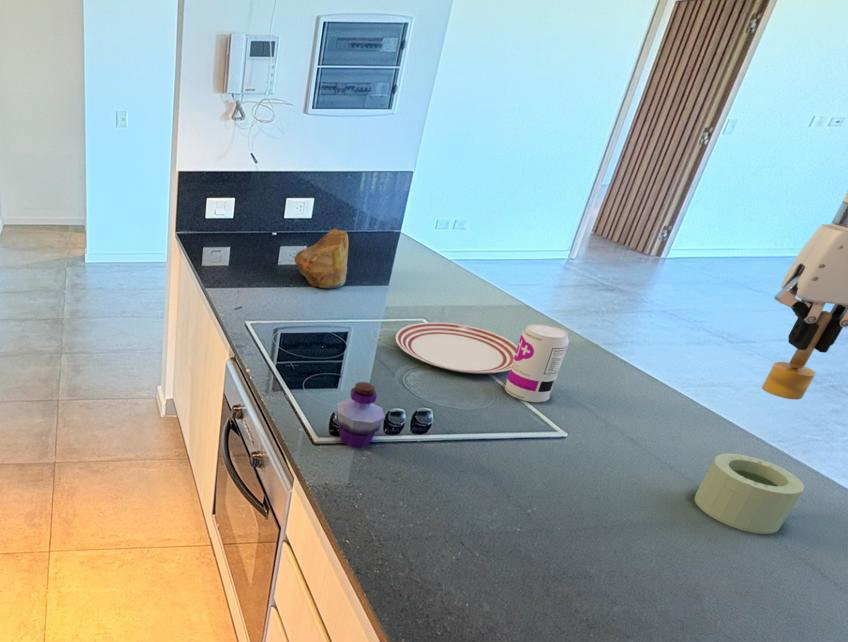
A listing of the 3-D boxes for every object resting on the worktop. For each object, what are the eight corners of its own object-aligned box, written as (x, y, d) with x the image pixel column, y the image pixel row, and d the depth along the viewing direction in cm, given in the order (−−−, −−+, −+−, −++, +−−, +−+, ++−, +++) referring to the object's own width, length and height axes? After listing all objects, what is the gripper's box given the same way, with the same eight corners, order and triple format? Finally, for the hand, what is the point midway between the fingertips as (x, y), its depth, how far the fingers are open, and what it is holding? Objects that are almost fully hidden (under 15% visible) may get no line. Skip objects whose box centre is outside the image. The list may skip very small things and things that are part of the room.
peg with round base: (791, 388, 93) (836, 308, 87) (809, 401, 89) (856, 319, 83) (755, 383, 94) (797, 304, 88) (770, 396, 91) (815, 314, 85)
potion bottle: (383, 438, 115) (396, 382, 110) (371, 460, 109) (384, 402, 104) (338, 424, 120) (348, 370, 114) (323, 445, 113) (333, 388, 108)
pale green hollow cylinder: (757, 501, 99) (780, 460, 96) (793, 542, 91) (820, 499, 87) (682, 488, 102) (702, 448, 99) (710, 527, 94) (733, 484, 90)
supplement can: (510, 402, 128) (531, 336, 121) (498, 384, 135) (518, 321, 128) (553, 407, 126) (578, 340, 119) (540, 388, 133) (562, 324, 126)
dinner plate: (489, 395, 130) (493, 381, 129) (371, 352, 149) (374, 340, 148) (539, 359, 146) (543, 347, 144) (427, 325, 165) (430, 313, 163)
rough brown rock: (299, 268, 211) (301, 225, 205) (350, 270, 205) (353, 226, 198) (286, 291, 193) (287, 245, 186) (342, 294, 186) (345, 246, 179)
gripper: (934, 218, 81) (860, 345, 89) (784, 209, 86) (726, 330, 94) (982, 232, 75) (896, 367, 83) (816, 221, 79) (751, 349, 88)
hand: (806, 346), depth 88 cm, fingers closed on peg with round base, 1 cm apart
